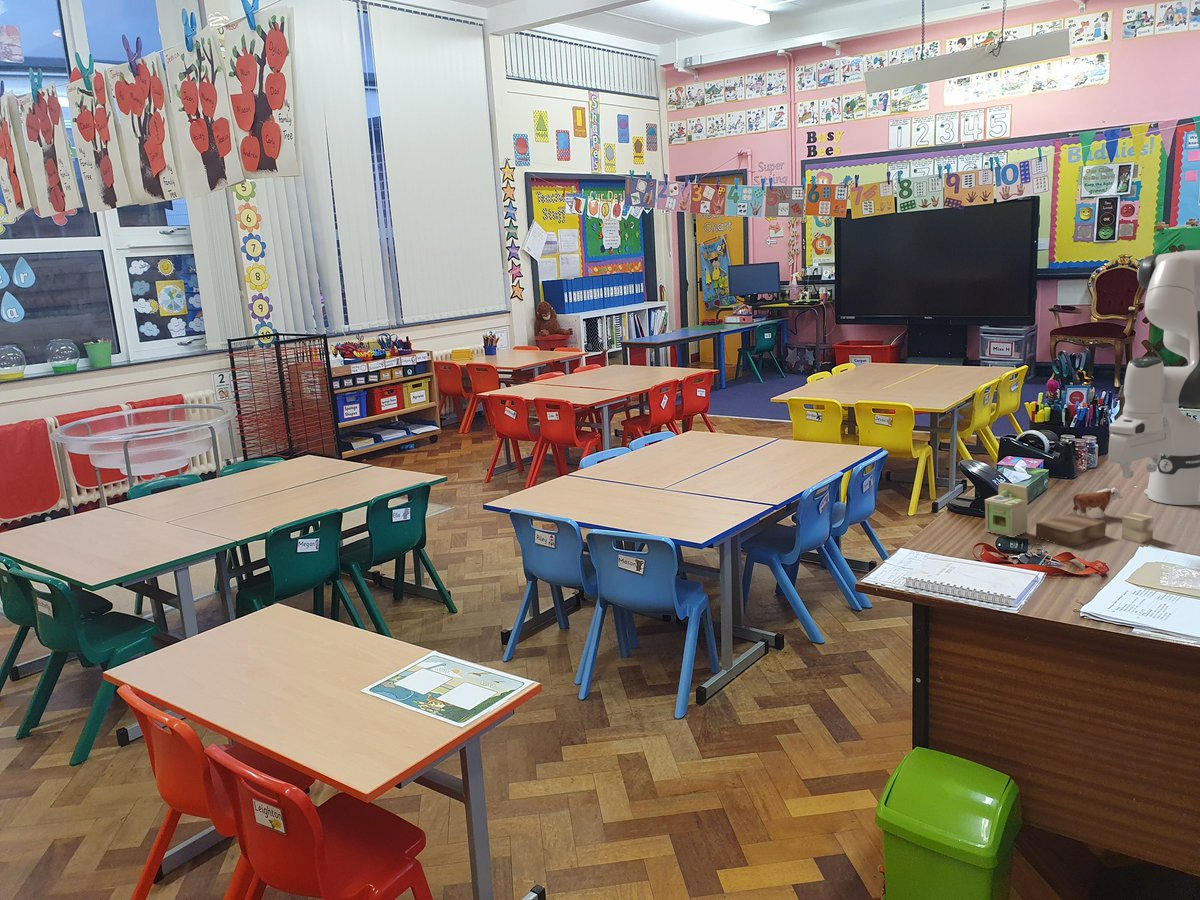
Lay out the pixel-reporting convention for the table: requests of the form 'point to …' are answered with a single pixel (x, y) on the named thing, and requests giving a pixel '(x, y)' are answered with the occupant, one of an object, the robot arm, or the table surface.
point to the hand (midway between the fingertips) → (1139, 474)
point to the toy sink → (1007, 510)
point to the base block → (1071, 529)
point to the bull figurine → (1095, 500)
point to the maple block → (1137, 527)
